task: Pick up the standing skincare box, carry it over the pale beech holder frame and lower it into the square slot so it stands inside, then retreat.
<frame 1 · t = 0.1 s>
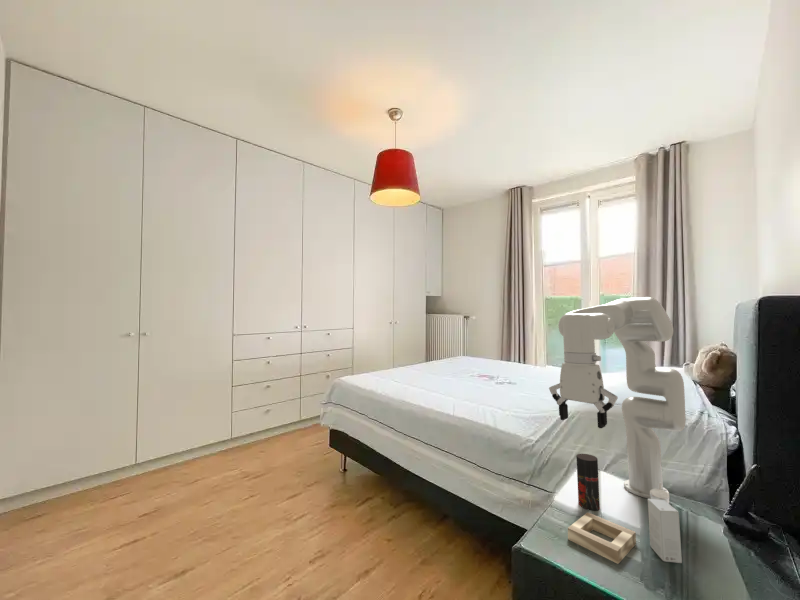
hand: (582, 423, 91), 31 cm above the table, tool pointing down, fingers open, 9 cm apart
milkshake: (661, 522, 99), on the table
skincare box: (665, 555, 85), on the table
deodorant: (589, 506, 108), on the table
holder: (601, 541, 90), on the table
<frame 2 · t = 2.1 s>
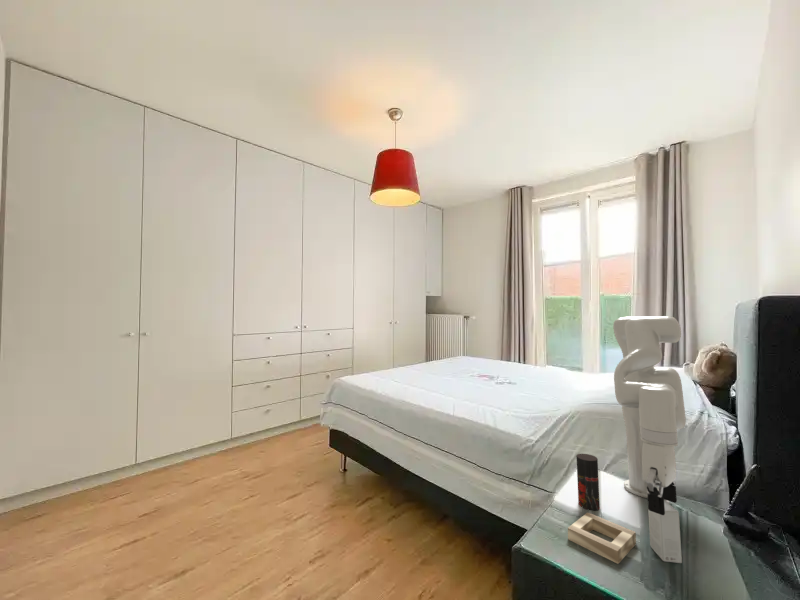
hand: (662, 506, 85), 12 cm above the table, tool pointing down, fingers open, 9 cm apart
nothing on the table moved.
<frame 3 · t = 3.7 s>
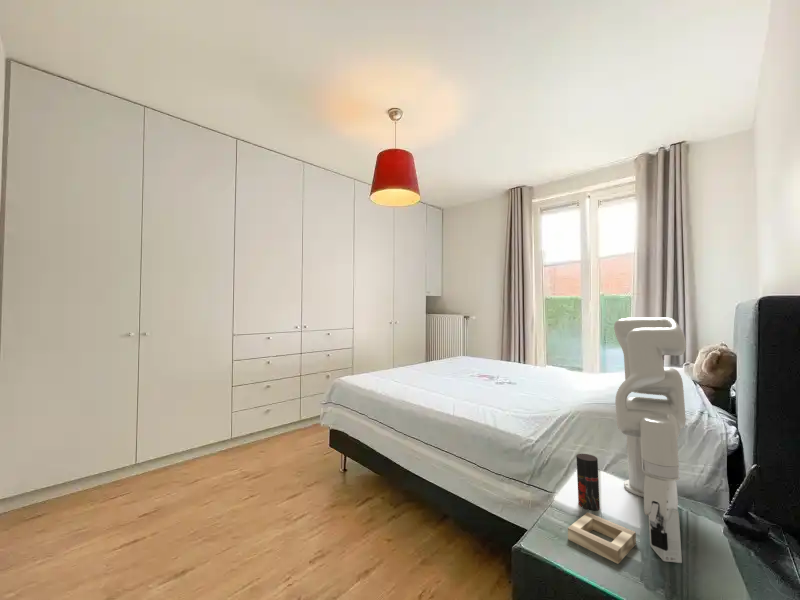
hand: (664, 540, 85), 3 cm above the table, tool pointing down, fingers closed on skincare box, 7 cm apart
skincare box: (665, 555, 85), on the table, touching gripper
everything else where it was.
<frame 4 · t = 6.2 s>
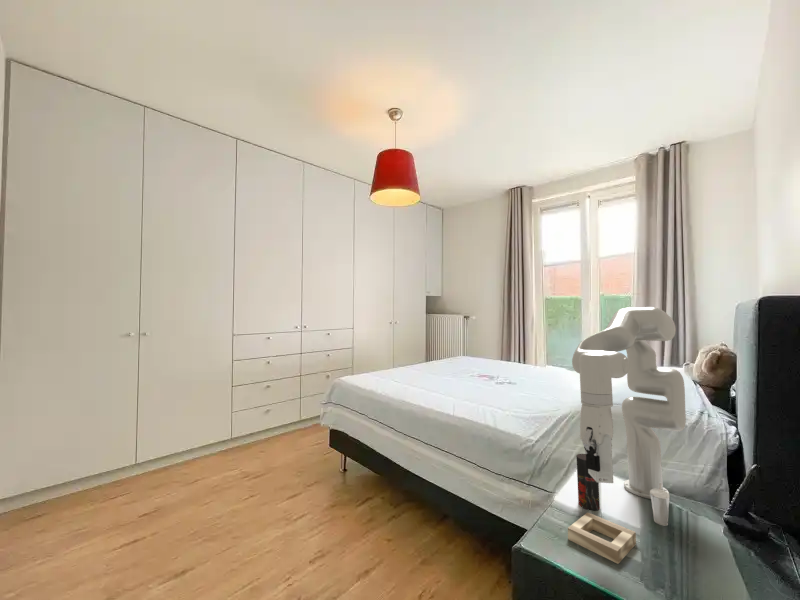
hand: (599, 465, 91), 20 cm above the table, tool pointing down, fingers closed on skincare box, 7 cm apart
skincare box: (600, 478, 91), point 16 cm above the table, touching gripper
everything else where it was.
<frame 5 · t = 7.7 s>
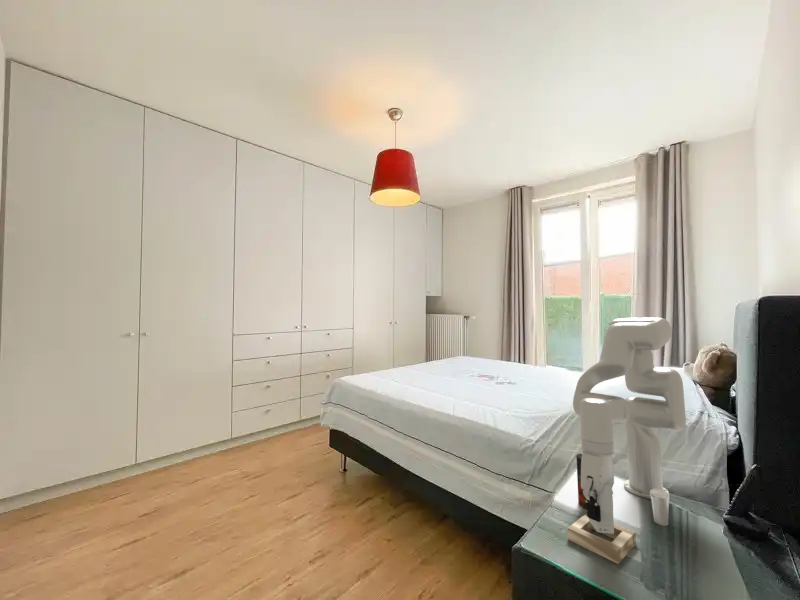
hand: (600, 513, 90), 7 cm above the table, tool pointing down, fingers closed on skincare box, 7 cm apart
skincare box: (601, 527, 90), point 4 cm above the table, touching gripper
everything else where it was.
when the fingers open (5 cm above the table, at t = 8.9 s): skincare box drops 2 cm, resting in holder.
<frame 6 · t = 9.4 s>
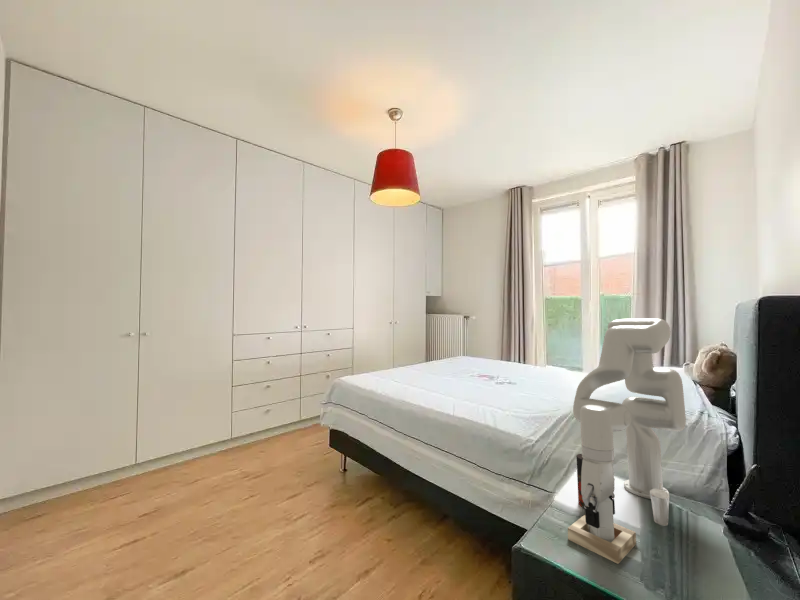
hand: (600, 518, 90), 6 cm above the table, tool pointing down, fingers open, 9 cm apart
skincare box: (601, 542, 90), resting in holder
everything else where it was.
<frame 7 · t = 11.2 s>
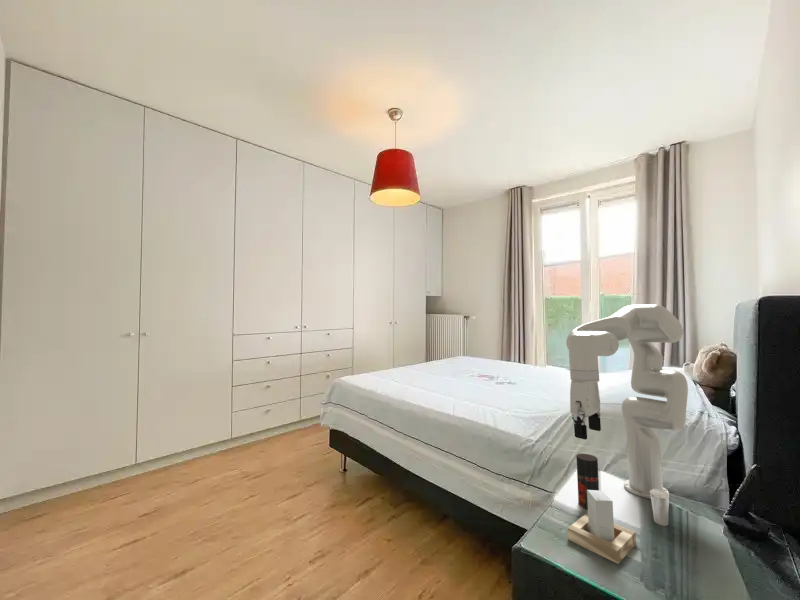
hand: (588, 433, 100), 25 cm above the table, tool pointing down, fingers open, 9 cm apart
nothing on the table moved.
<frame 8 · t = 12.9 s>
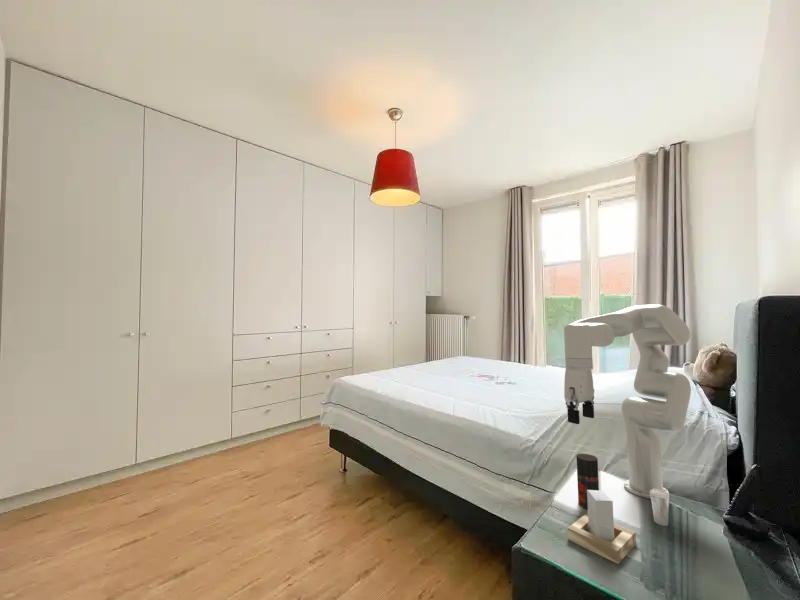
hand: (581, 420, 104), 28 cm above the table, tool pointing down, fingers open, 9 cm apart
nothing on the table moved.
at the end: skincare box 0.1 cm off-centre on the holder, point 0.0 cm above the holder's base; skincare box tilted 0°; the gripper is holding nothing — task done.
